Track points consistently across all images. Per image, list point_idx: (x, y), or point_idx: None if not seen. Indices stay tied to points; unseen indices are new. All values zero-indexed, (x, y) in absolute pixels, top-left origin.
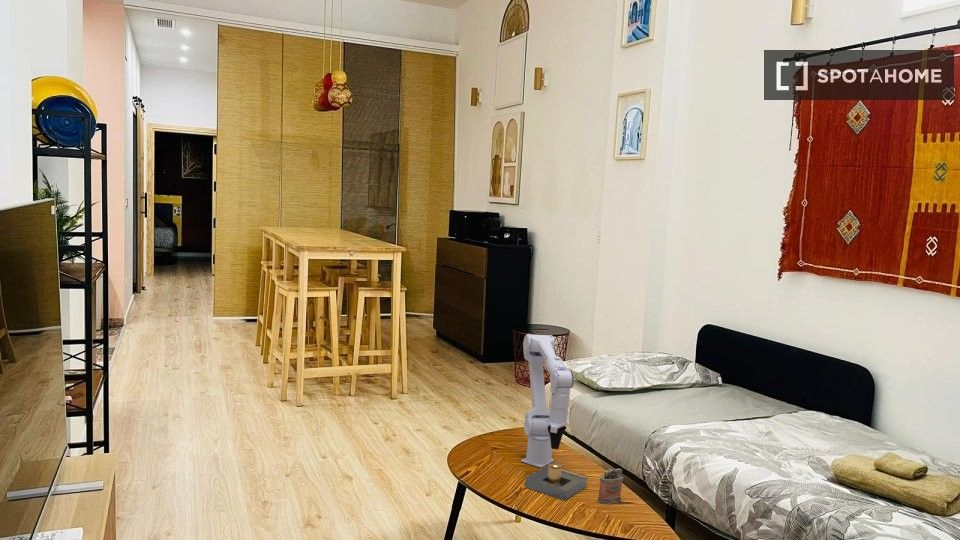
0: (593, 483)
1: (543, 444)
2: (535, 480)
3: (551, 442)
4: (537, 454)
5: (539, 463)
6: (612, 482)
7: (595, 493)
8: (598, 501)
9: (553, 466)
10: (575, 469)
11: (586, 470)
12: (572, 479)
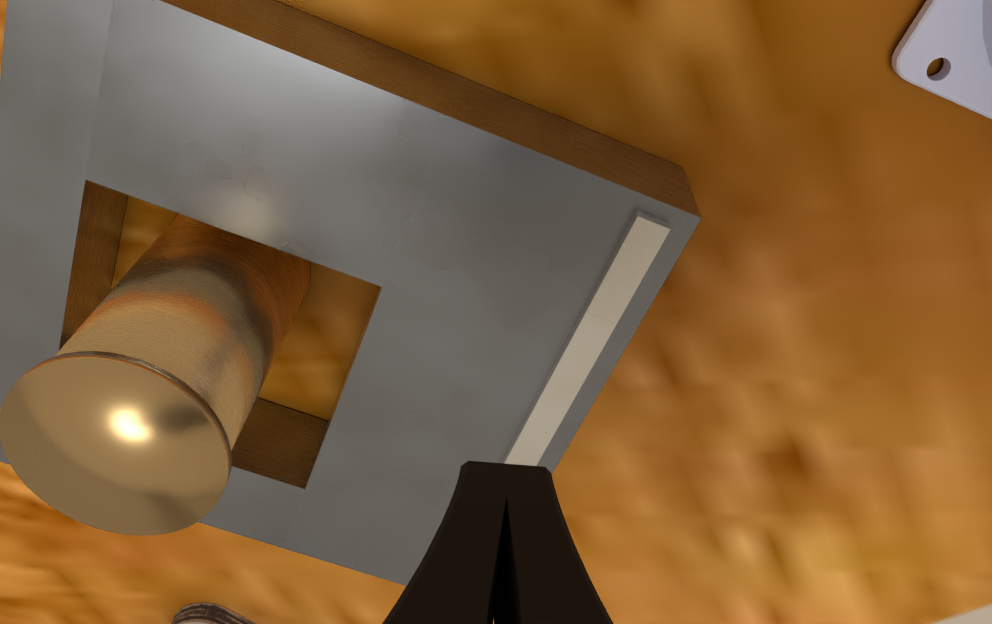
0: (593, 581)
1: None
2: (15, 100)
3: (433, 552)
4: None
5: (990, 40)
6: None
7: (362, 592)
8: (180, 614)
9: (2, 433)
10: (939, 443)
11: (932, 532)
12: (338, 494)
